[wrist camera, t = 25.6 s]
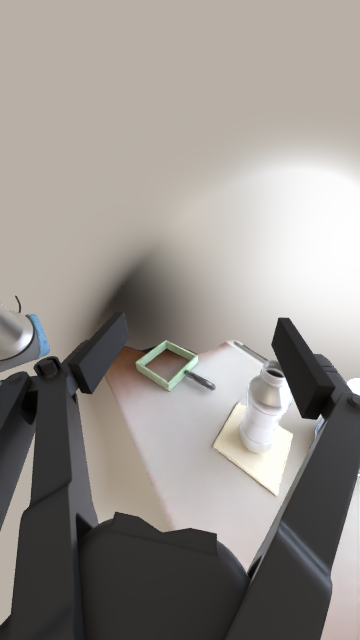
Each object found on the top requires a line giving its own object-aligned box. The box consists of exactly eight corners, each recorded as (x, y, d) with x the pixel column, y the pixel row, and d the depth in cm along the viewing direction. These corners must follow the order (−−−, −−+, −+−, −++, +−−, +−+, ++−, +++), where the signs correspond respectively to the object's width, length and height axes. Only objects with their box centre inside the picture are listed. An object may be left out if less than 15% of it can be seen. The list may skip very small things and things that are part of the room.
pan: (136, 369, 56) (135, 362, 54) (166, 346, 64) (165, 340, 63) (200, 413, 43) (200, 405, 41) (226, 377, 52) (227, 369, 50)
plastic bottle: (278, 442, 37) (311, 370, 26) (258, 467, 33) (286, 396, 23) (250, 417, 41) (269, 348, 31) (230, 437, 38) (243, 366, 27)
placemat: (212, 446, 37) (212, 445, 37) (237, 403, 45) (237, 402, 44) (276, 496, 30) (276, 495, 30) (293, 435, 38) (293, 434, 38)
